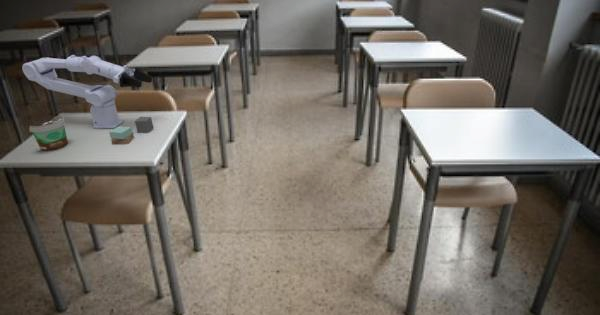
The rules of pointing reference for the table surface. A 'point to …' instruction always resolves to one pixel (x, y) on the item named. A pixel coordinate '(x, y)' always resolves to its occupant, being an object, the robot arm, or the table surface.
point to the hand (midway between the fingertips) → (146, 82)
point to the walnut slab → (123, 140)
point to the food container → (50, 134)
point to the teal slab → (120, 132)
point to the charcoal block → (144, 124)
